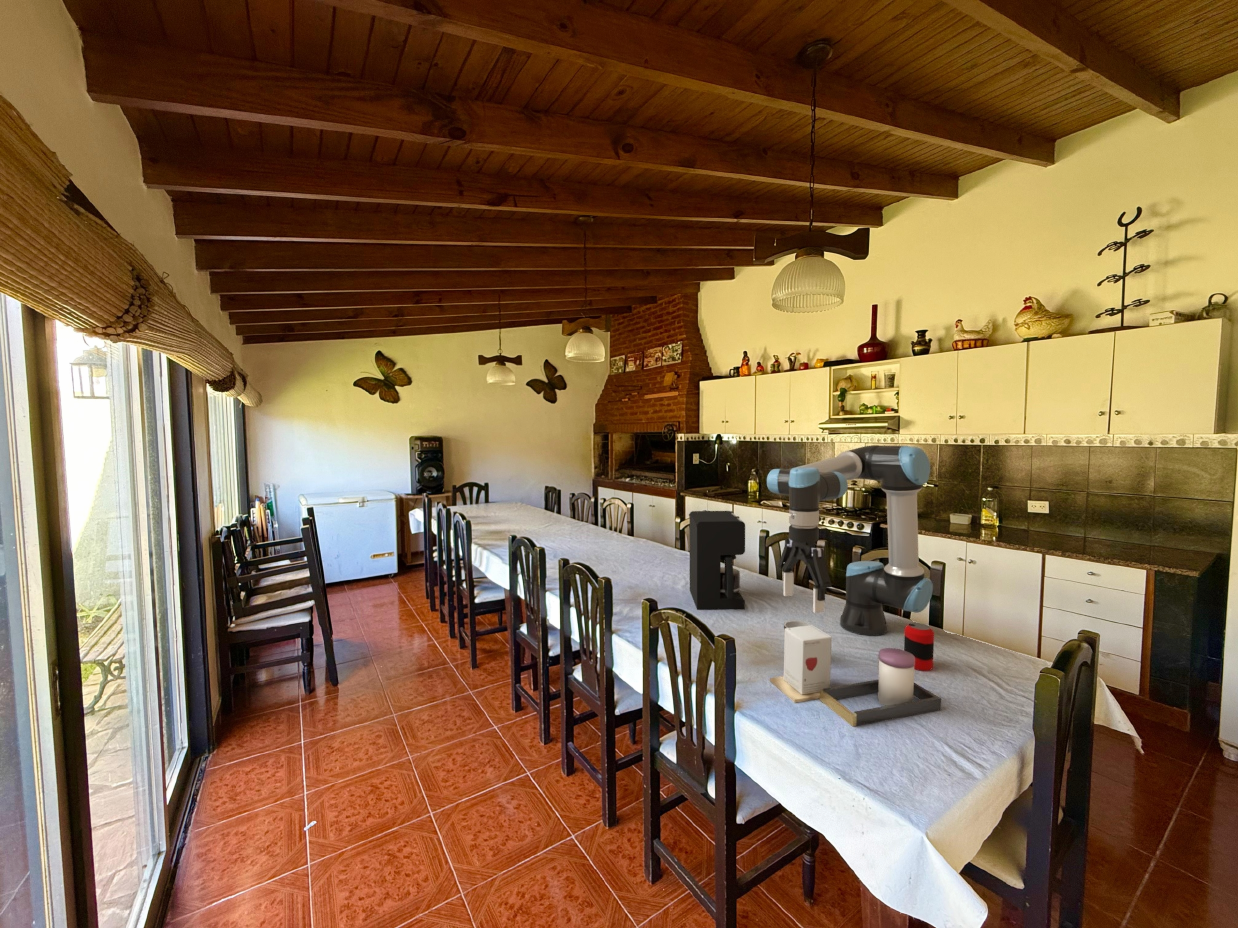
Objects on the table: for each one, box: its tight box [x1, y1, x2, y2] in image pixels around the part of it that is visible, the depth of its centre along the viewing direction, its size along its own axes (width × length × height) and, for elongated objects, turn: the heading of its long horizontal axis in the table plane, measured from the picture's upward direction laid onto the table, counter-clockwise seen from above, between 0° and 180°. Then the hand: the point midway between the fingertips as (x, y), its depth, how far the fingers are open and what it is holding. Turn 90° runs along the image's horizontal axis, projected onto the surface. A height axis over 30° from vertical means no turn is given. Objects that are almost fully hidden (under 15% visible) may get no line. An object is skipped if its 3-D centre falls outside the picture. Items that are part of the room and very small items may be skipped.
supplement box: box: [783, 624, 832, 695], centre depth 143 cm, size 9×9×15 cm
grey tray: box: [819, 679, 942, 727], centre depth 135 cm, size 26×12×3 cm, turn 105°
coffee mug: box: [783, 620, 812, 631], centre depth 164 cm, size 12×9×10 cm
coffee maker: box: [688, 510, 746, 611], centre depth 213 cm, size 28×20×35 cm
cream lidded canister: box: [877, 647, 915, 706], centre depth 136 cm, size 8×8×13 cm
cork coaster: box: [769, 675, 820, 704], centre depth 144 cm, size 12×12×1 cm
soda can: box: [903, 622, 935, 672], centre depth 156 cm, size 8×8×12 cm
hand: (802, 603), depth 142 cm, fingers open, 13 cm apart
